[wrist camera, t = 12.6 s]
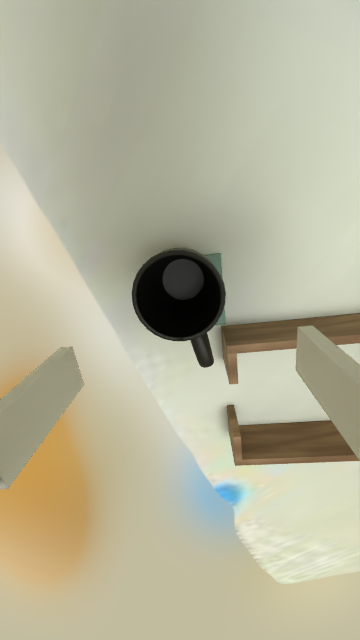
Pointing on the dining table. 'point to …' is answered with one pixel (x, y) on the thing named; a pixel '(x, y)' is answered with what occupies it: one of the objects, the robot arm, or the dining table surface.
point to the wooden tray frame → (285, 438)
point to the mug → (180, 298)
